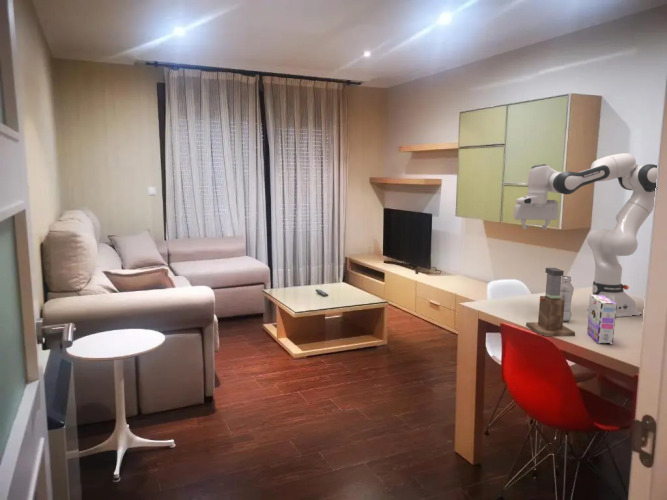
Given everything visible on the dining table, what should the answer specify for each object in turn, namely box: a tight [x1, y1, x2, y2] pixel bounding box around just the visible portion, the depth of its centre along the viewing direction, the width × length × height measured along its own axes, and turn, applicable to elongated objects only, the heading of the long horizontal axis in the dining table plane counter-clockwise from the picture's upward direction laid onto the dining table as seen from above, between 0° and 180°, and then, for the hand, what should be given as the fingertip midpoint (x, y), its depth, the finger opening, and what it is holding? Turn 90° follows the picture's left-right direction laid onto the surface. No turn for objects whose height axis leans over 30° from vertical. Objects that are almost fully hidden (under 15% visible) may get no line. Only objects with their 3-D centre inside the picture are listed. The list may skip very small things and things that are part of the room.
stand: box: [525, 295, 576, 337], centre depth 209 cm, size 14×14×14 cm
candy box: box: [586, 294, 617, 344], centre depth 200 cm, size 14×6×16 cm, turn 170°
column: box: [544, 267, 565, 300], centre depth 208 cm, size 4×7×18 cm, turn 4°
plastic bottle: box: [560, 275, 575, 322], centre depth 223 cm, size 6×7×20 cm
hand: (534, 229), depth 237 cm, fingers open, 8 cm apart
